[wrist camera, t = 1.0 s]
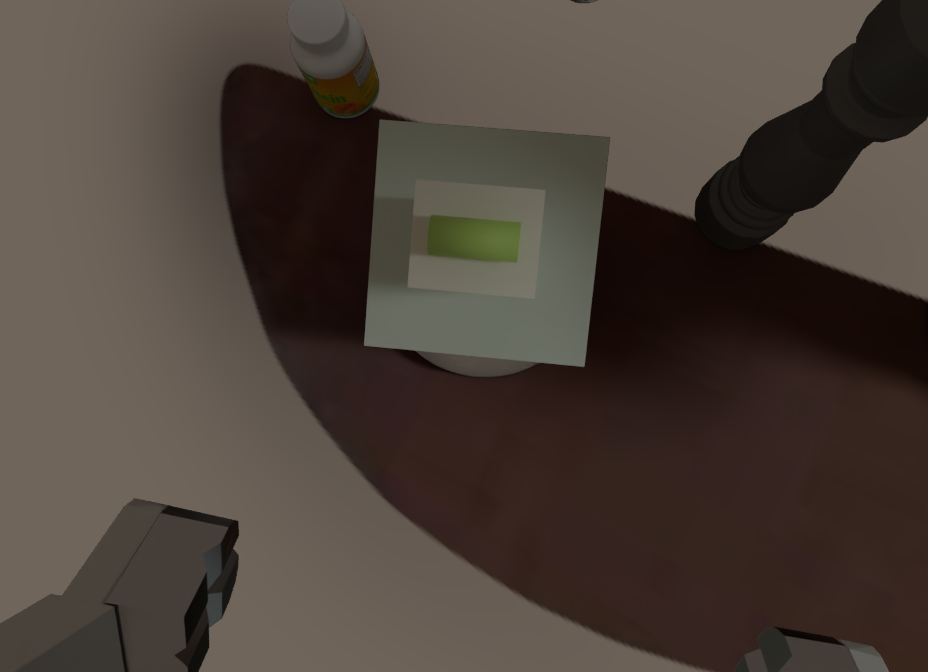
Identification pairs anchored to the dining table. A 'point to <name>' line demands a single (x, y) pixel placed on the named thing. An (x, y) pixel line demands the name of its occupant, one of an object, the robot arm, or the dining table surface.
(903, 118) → the candle holder
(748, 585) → the dining table surface
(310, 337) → the dining table surface
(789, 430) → the dining table surface
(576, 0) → the beer can
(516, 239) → the white stepped fixture
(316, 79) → the supplement bottle
